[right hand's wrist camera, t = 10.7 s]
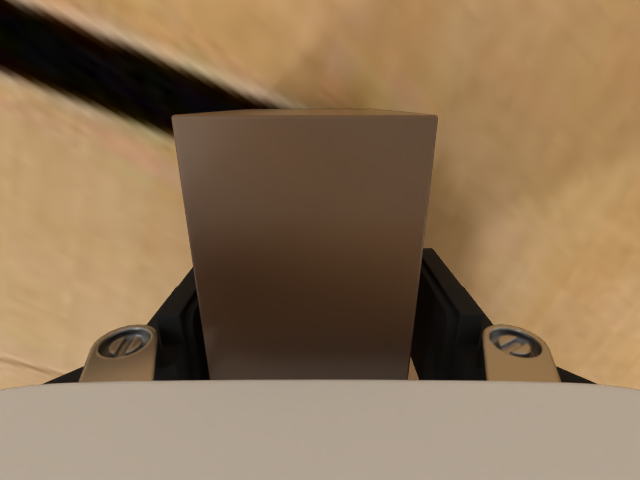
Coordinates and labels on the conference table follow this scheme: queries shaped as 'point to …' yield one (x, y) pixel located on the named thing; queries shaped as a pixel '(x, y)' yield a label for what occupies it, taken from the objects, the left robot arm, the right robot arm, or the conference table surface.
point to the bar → (306, 238)
